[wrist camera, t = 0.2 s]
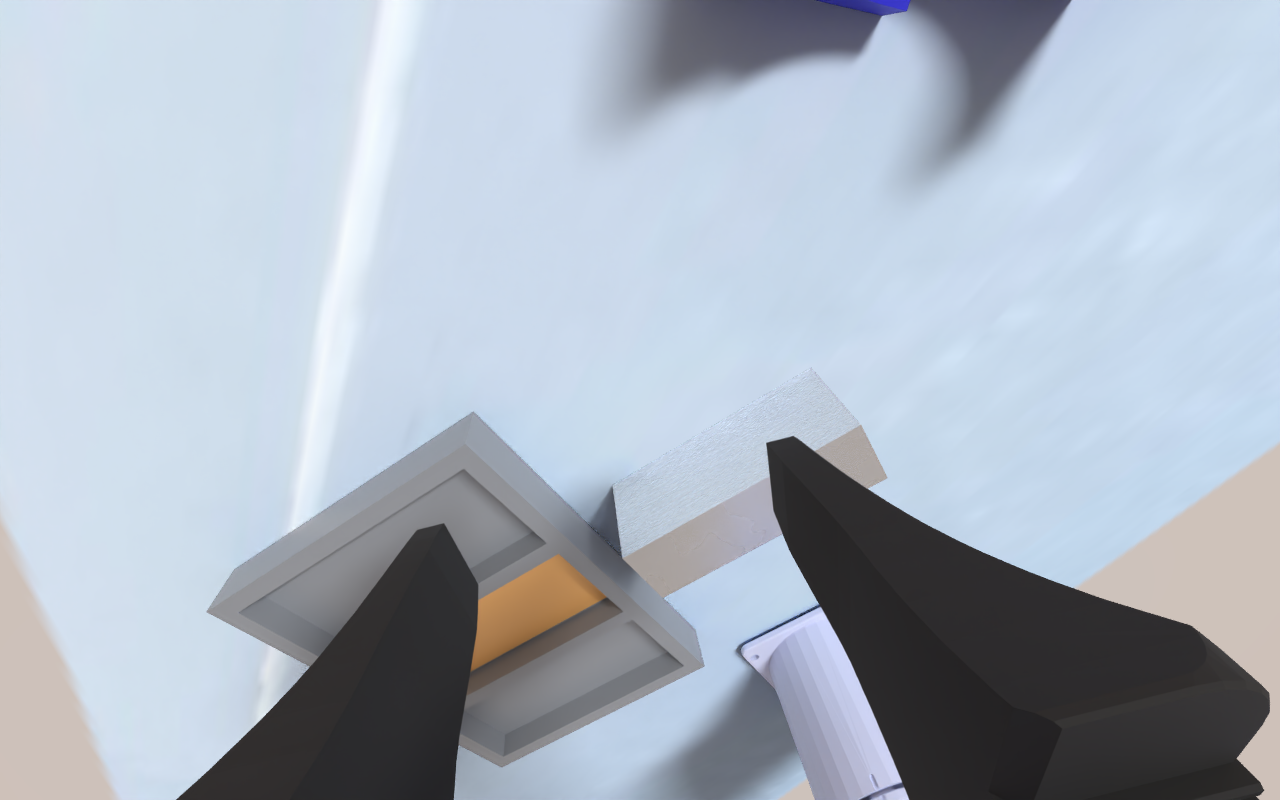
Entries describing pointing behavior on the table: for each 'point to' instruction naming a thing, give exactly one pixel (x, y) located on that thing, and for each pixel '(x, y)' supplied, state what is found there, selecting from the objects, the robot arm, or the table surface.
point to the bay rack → (479, 591)
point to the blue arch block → (873, 5)
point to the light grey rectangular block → (730, 483)
